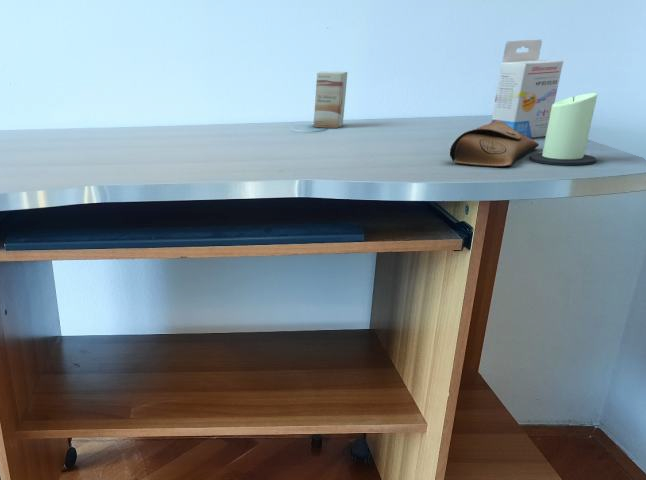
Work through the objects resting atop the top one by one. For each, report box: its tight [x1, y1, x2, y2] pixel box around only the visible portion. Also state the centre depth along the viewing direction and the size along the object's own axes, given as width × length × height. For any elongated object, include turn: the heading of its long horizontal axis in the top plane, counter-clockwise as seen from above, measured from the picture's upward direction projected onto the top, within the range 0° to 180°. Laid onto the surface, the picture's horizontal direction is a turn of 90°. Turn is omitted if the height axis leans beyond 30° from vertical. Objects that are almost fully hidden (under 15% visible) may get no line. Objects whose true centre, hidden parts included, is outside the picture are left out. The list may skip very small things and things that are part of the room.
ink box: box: [491, 39, 564, 139], centre depth 104 cm, size 8×5×15 cm, turn 114°
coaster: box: [529, 152, 597, 167], centre depth 88 cm, size 8×8×1 cm
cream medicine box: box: [313, 70, 348, 129], centre depth 125 cm, size 5×4×10 cm
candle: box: [542, 92, 599, 160], centre depth 86 cm, size 5×5×8 cm
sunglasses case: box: [449, 120, 540, 167], centre depth 92 cm, size 18×7×7 cm
